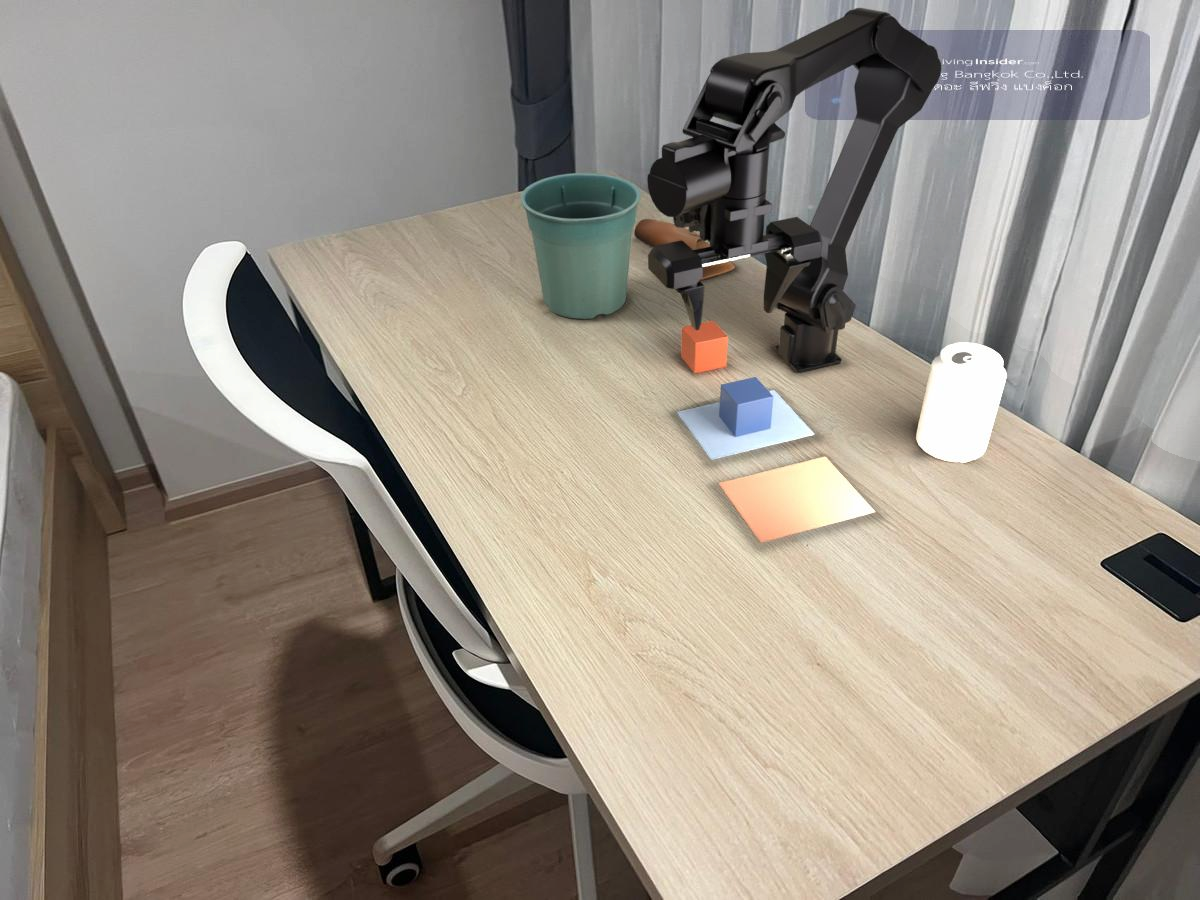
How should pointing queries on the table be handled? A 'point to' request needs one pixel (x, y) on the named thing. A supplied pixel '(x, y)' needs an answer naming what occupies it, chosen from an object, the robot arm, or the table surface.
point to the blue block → (745, 406)
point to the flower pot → (582, 240)
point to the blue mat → (724, 443)
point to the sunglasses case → (668, 232)
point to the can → (961, 402)
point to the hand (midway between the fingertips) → (731, 320)
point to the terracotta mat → (794, 499)
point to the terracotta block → (704, 347)
